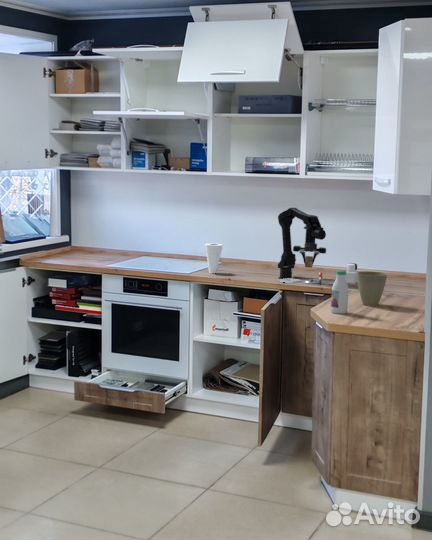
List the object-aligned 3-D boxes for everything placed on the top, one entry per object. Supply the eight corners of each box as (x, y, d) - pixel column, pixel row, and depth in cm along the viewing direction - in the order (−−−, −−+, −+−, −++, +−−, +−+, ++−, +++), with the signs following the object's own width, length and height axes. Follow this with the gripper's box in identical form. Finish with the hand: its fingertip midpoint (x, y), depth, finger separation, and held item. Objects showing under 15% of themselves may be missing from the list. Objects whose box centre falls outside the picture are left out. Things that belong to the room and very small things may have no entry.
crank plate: (296, 284, 448) (296, 277, 447) (310, 281, 458) (310, 275, 458) (319, 287, 438) (319, 280, 437) (333, 285, 448) (333, 278, 447)
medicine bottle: (347, 282, 462) (348, 262, 460) (358, 283, 458) (360, 263, 456) (343, 283, 455) (344, 263, 454) (354, 285, 452) (355, 264, 450)
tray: (279, 282, 452) (279, 279, 452) (289, 281, 459) (289, 278, 459) (292, 284, 446) (292, 281, 446) (301, 283, 453) (301, 280, 453)
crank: (311, 284, 443) (311, 275, 442) (300, 281, 450) (300, 273, 449) (327, 282, 450) (327, 273, 450) (315, 280, 457) (316, 271, 457)
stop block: (304, 267, 447) (305, 256, 446) (305, 266, 451) (306, 255, 450) (311, 267, 446) (312, 257, 445) (312, 266, 450) (313, 256, 449)
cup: (201, 272, 482) (202, 243, 479) (217, 271, 486) (218, 243, 484) (208, 275, 472) (209, 245, 470) (224, 274, 477) (225, 245, 474)
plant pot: (364, 300, 401) (365, 270, 399) (390, 304, 392) (392, 273, 390) (349, 304, 390) (351, 273, 387) (376, 308, 380) (378, 276, 378)
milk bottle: (345, 311, 372) (347, 269, 369) (348, 314, 364) (351, 272, 361) (329, 310, 372) (331, 269, 369) (332, 313, 364) (334, 271, 361)
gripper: (293, 238, 440) (291, 265, 442) (326, 240, 437) (324, 267, 439) (294, 235, 451) (293, 262, 453) (327, 238, 447) (325, 264, 450)
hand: (308, 264), depth 449 cm, fingers closed on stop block, 4 cm apart
